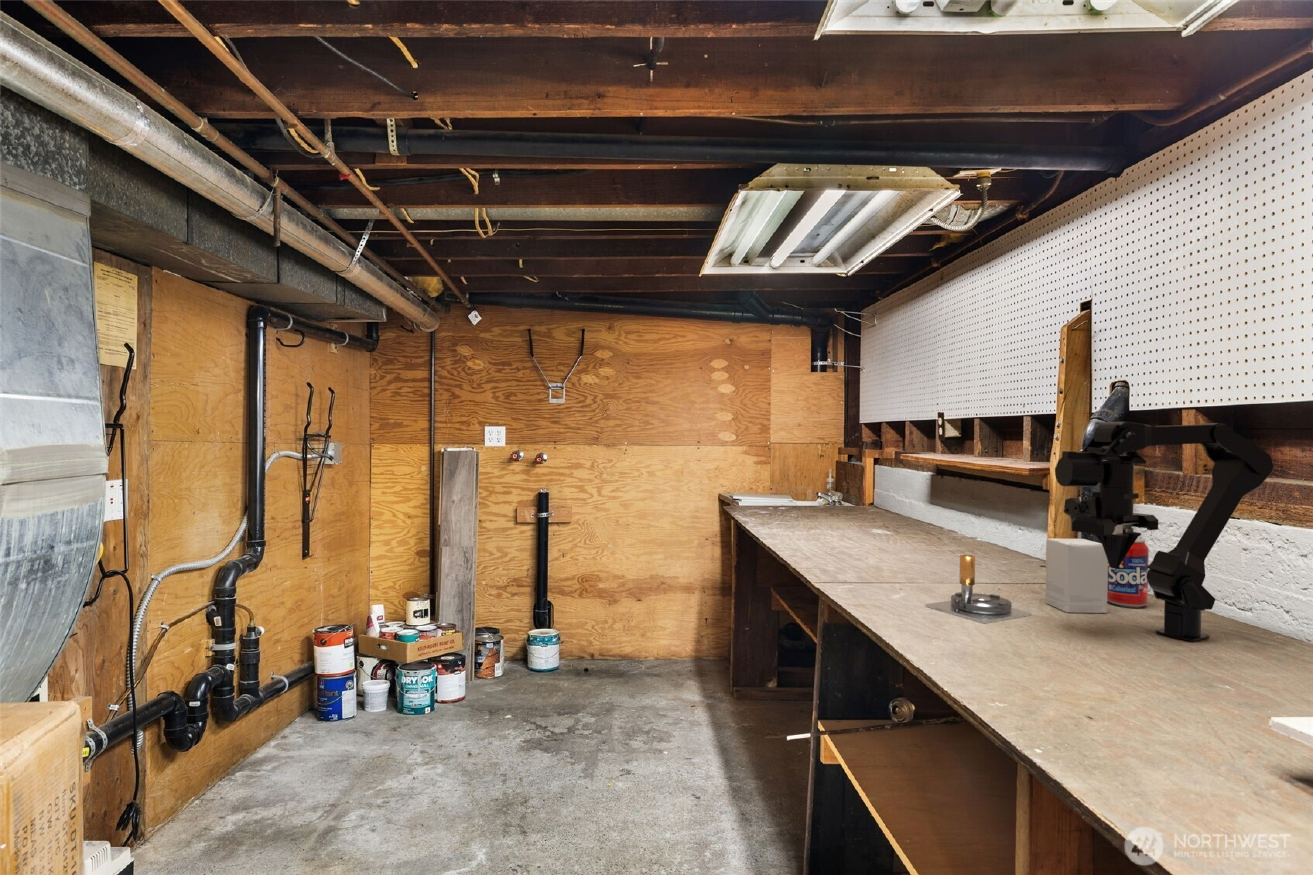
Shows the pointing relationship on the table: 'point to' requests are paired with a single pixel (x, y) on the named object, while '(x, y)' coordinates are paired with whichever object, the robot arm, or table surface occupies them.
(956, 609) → the flange plate
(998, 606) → the metal joystick
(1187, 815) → the table surface
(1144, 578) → the soda can
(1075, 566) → the supplement box
